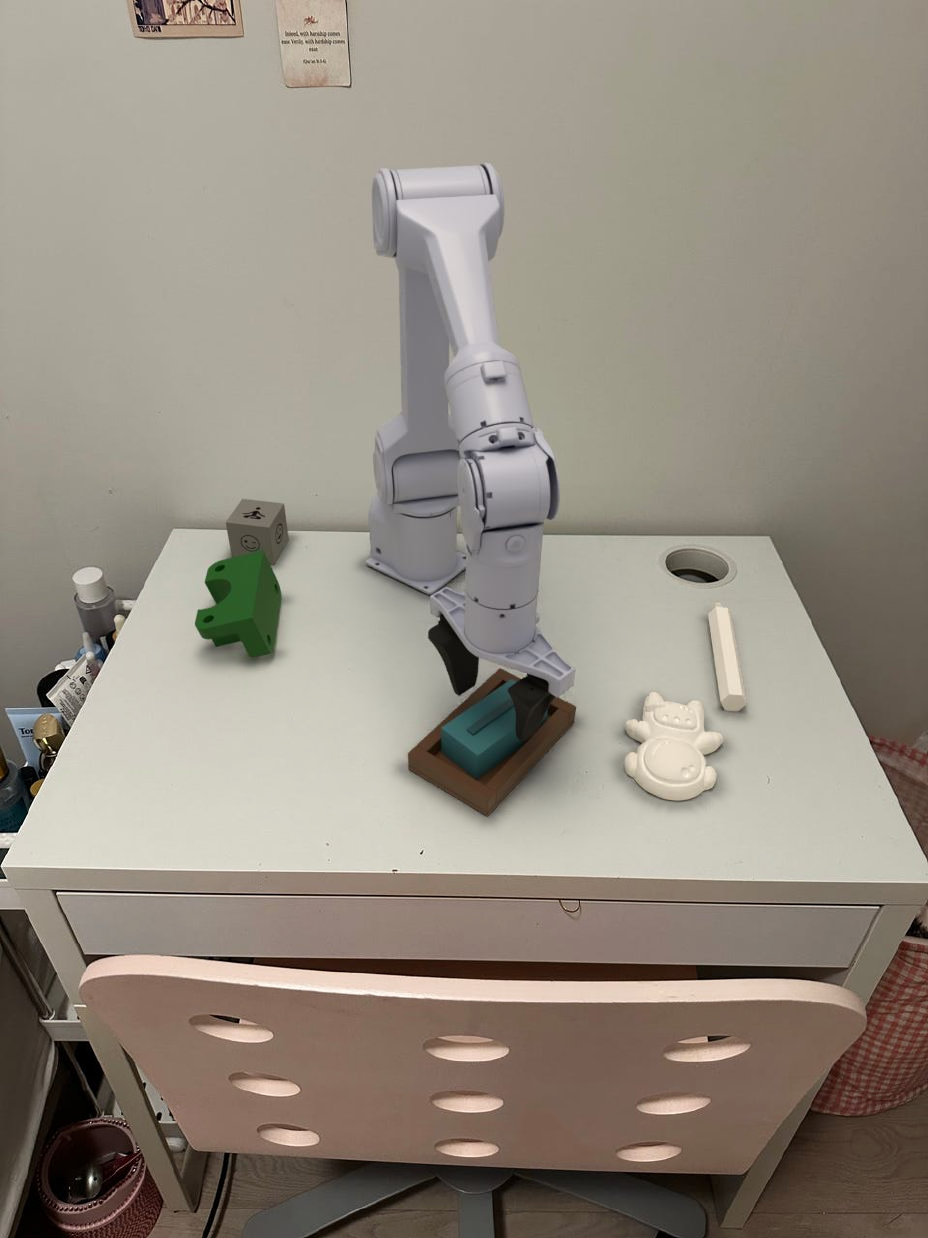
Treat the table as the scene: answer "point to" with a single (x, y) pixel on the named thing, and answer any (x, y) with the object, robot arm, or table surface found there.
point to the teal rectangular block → (483, 733)
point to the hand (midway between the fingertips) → (495, 710)
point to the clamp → (242, 604)
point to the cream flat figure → (671, 749)
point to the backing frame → (505, 774)
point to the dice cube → (258, 529)
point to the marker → (726, 659)
